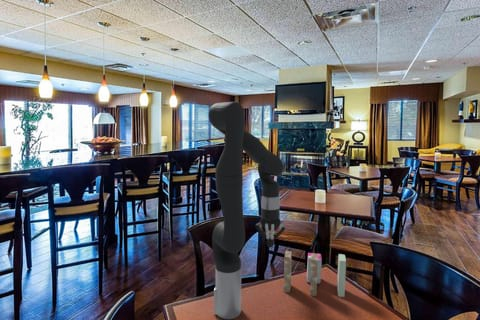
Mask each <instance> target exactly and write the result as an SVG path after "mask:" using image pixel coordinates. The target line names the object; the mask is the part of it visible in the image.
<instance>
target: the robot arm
mask: <svg viewBox="0 0 480 320" xmlns="http://www.w3.org/2000/svg"><path fill="white" fill-rule="evenodd" d="M245 116H246V115H245V109H244V107H243V105H242V104H241V103H240V102H238V101H224V102H223V101H222V102H216V103H214V104H213V105H211V107H210V108H209V109H208V120H209V122H210V124H211V126H212V127H213V128H215V129H216V130H217V131H219V132H220V133H222V134H223V135H224V136H225V142H224V144H225V145H224V148H223V149H222V150H223V151H222V153H221V155H220V157H219V160H218V162H217V164H216V167H215V189H216V194H217V197H218V200H219V203H220V205H221V209H222V213H223V221H220V222H219V223H217V224H216V226H214V229H213V231H212V237H211V238H212V240H211V241H212V245H211V246H212V257H213V262H214V264H215V267H214V268H215V287H214V289H213V315H215V316H217V317H218V318H220V319H224V320H232V319H236V318H237V317H239V316H240V315H241V313H242V260H241V257H240V256H239V254H238V253H239V252H240V251H241V250H242V249H243V248H244V245H245V243H246V230H245V229H246V228H245V221H244V209H243V208H244V207H243V206H244V205H243V204H244V203H243V201H244V199H243V197H244V196H243V186H244V185H243V182H244V181H243V177H244V174H243V173H244V172H243V152H244V153H245V154H246V155H247V156H248V157H249V158H250V159H251V160H252V161H253V163H255V164H257V173H258V177H259V181H260V184H261V200H260V201H261V202H260V204H261V206H260V207H261V208H260V215H261V217H260V220H259V222H258V223H256V224H255V225H254V228H255V229H256V230H257V231H258V233H259V235H261V237H262V238H265V239H266V246H267V248H270V249H272V248H273V247H274V244H275V239H279V237H280V236H281V234H282V233H284V231H285V230H286V225H284V224H282V221H281V219H280V217H281V215H280V211H281V210H280V209H281V204H280V203H281V201H280V184H279V182H278V181H276V180H274V179H273V178H272V177H278V176H281V175H282V174H283V173H284V168H285V165H284V162H283V161H282V159H281V158H280V157H279V156H277V155H276V154H275V153H273V152H272V151H270V150H268V148H267V147H266V146H265V144H264V143H263V142H262V141H261V140H260V139H259V138H258V137H256V136H255V135H253V134H252V133H251V132H248V131H247V130H246V129H245V119H246V117H245ZM278 228H279V229H278ZM276 230H278V231H277V232H276ZM275 232H276V233H275Z"/></svg>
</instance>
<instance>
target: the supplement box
mask: <svg viewBox="0 0 480 320" xmlns="http://www.w3.org/2000/svg"><path fill="white" fill-rule="evenodd" d="M312 253H313V254H316V253H314V252H308V253H307V265H306V284H310V285H311V256H312ZM317 254H318V264H317V285H321V279H322V278H321V277H322V263H323V262H322V260H323V258H322V254H321V253H317Z"/></svg>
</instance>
